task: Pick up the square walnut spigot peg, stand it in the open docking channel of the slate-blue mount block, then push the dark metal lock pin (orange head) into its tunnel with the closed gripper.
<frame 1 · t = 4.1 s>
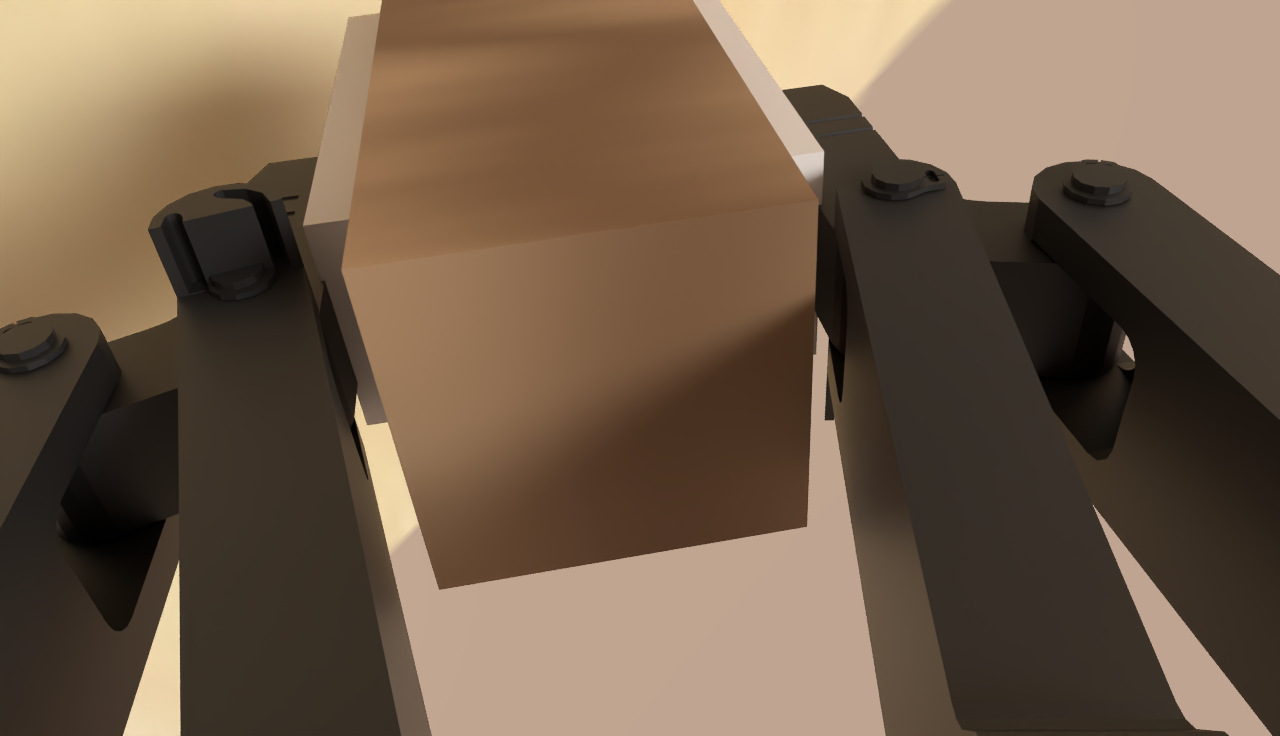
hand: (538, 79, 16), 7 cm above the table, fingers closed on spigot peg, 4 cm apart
spigot peg: (537, 70, 17), point 7 cm above the table, touching gripper
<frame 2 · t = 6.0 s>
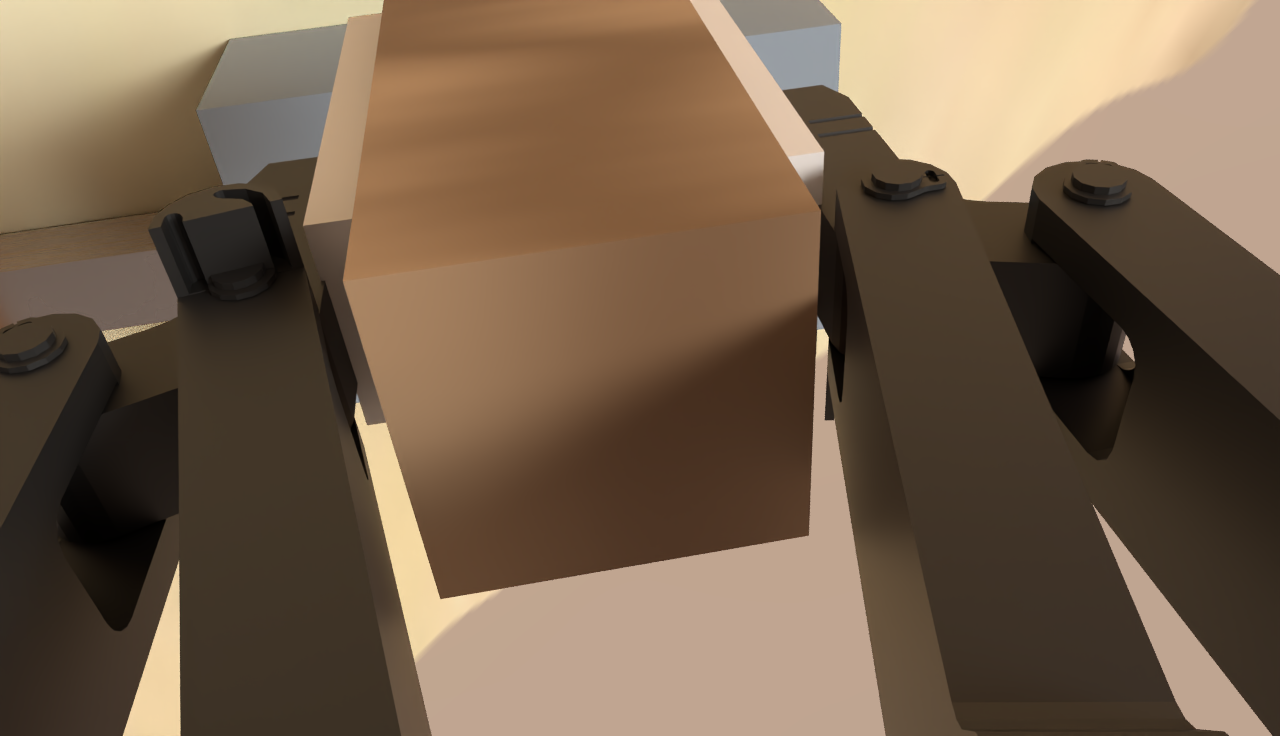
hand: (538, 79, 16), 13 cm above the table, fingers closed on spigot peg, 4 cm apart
lock pin: (178, 277, 30), point 2 cm above the table, slide at 0.0 cm
dock block: (517, 19, 29), on the table
spigot peg: (538, 76, 17), point 13 cm above the table, touching gripper
when the fingers open (2 cm above the table, at t = 8.3 s): spigot peg drops 1 cm, on the table.
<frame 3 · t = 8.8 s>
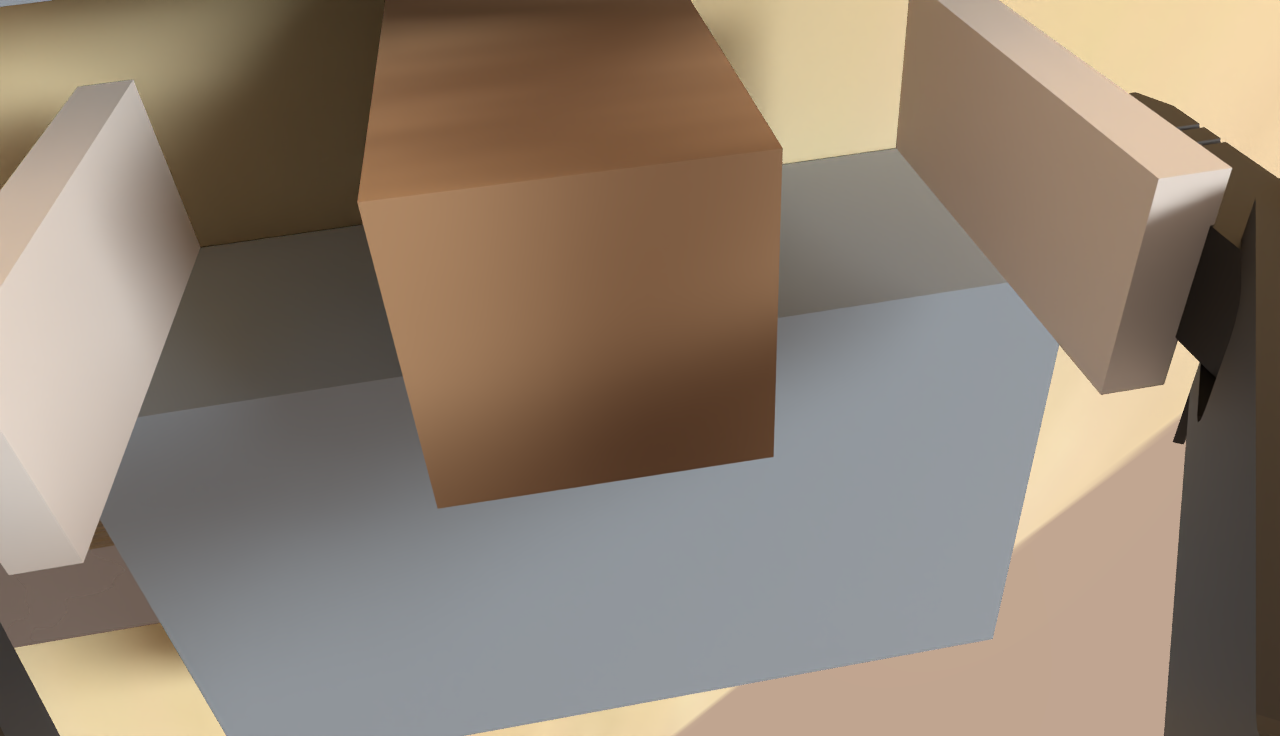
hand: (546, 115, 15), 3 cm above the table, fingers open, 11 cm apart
lock pin: (62, 583, 21), point 2 cm above the table, slide at 0.0 cm
dock block: (556, 219, 20), on the table
spigot peg: (532, 47, 18), on the table
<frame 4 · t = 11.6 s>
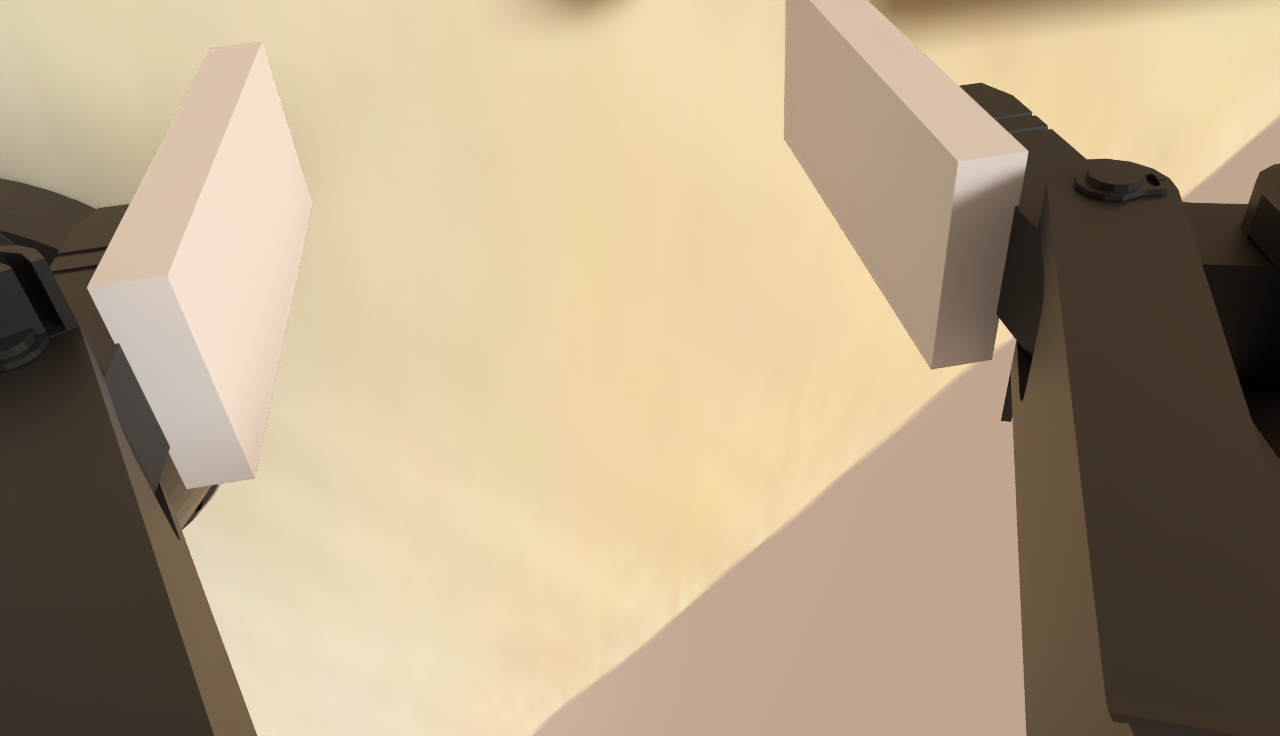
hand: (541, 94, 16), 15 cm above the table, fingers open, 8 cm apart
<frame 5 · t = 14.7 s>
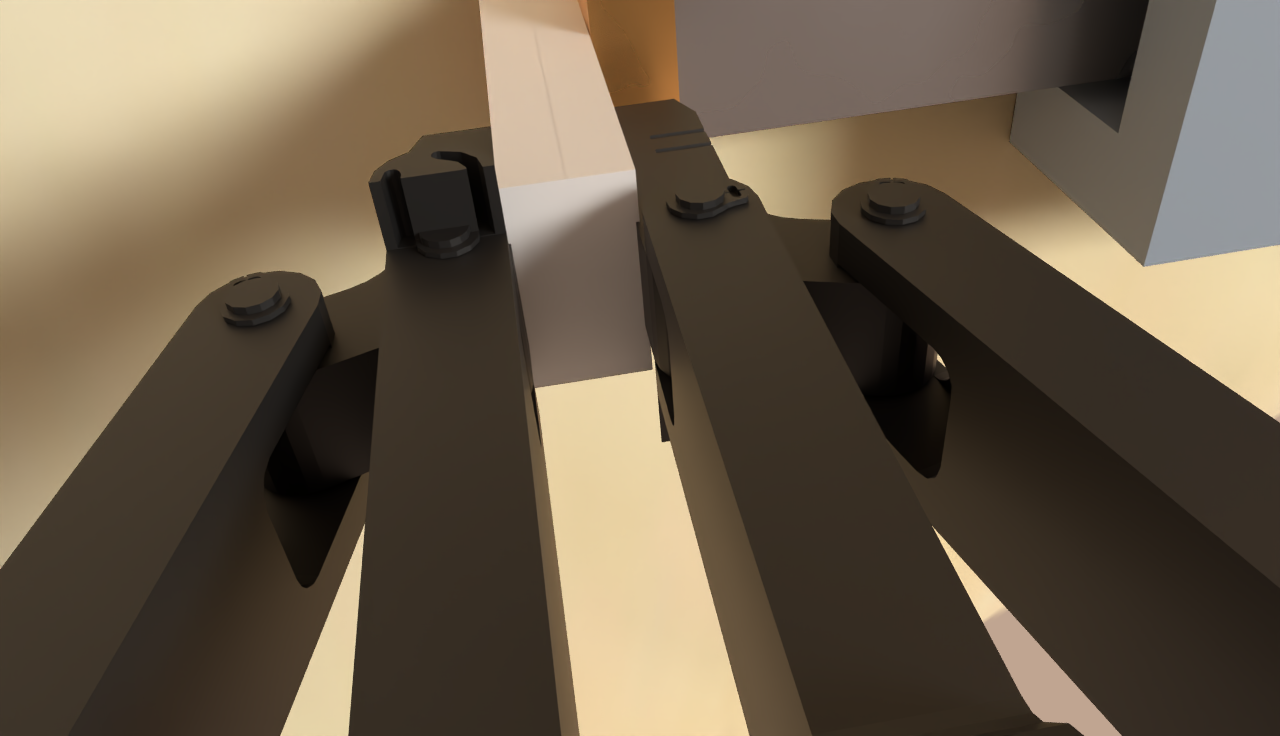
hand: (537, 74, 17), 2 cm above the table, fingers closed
lock pin: (1000, 18, 17), point 2 cm above the table, slide at 1.4 cm, touching gripper
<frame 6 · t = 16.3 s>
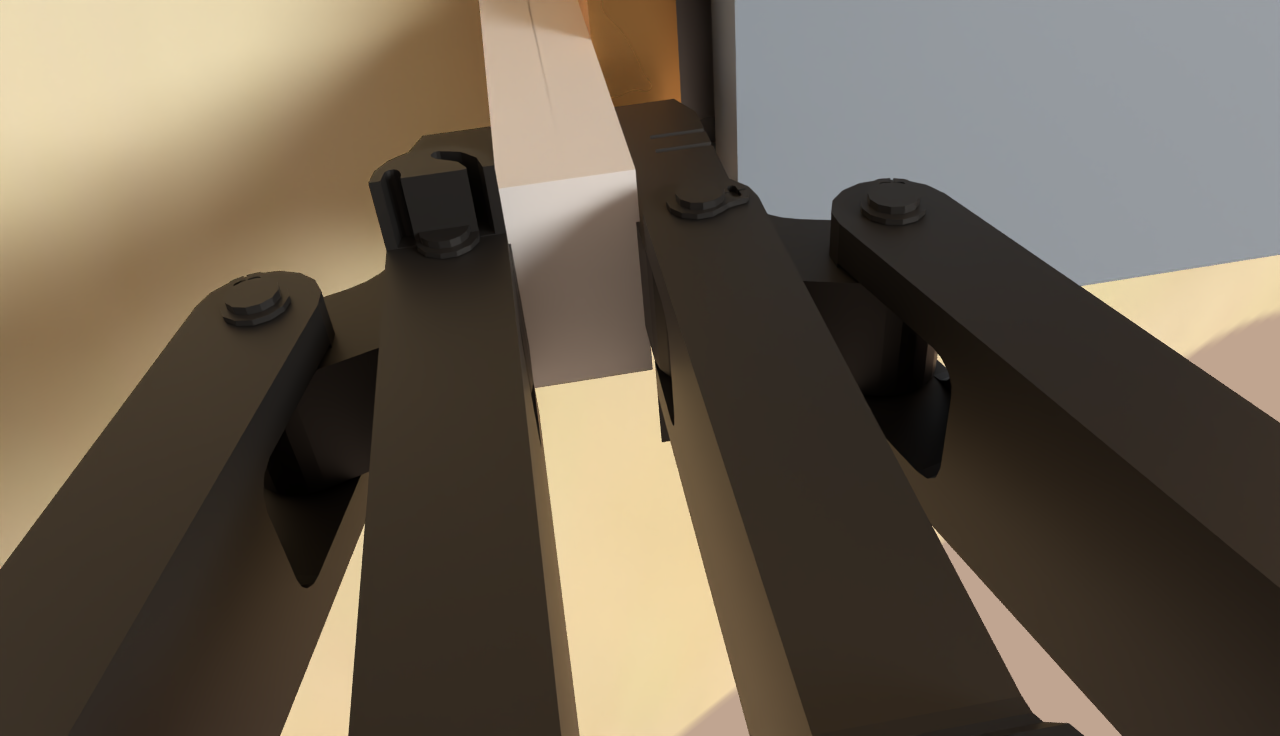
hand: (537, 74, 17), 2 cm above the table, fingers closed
lock pin: (1007, 22, 17), point 2 cm above the table, slide at 8.4 cm, touching gripper
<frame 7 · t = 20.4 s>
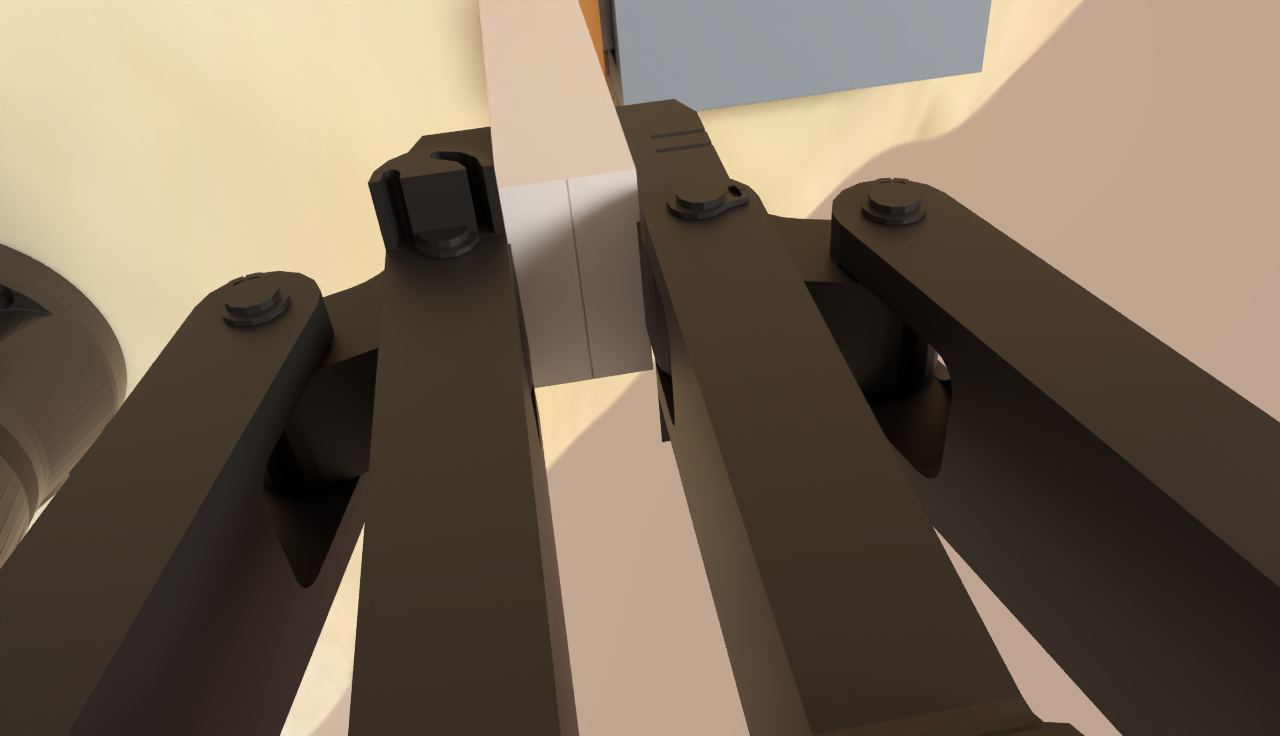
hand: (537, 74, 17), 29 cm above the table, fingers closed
lock pin: (729, 2, 44), point 2 cm above the table, slide at 8.4 cm
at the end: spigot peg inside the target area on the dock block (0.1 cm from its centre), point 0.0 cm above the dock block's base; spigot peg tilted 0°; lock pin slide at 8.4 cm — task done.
